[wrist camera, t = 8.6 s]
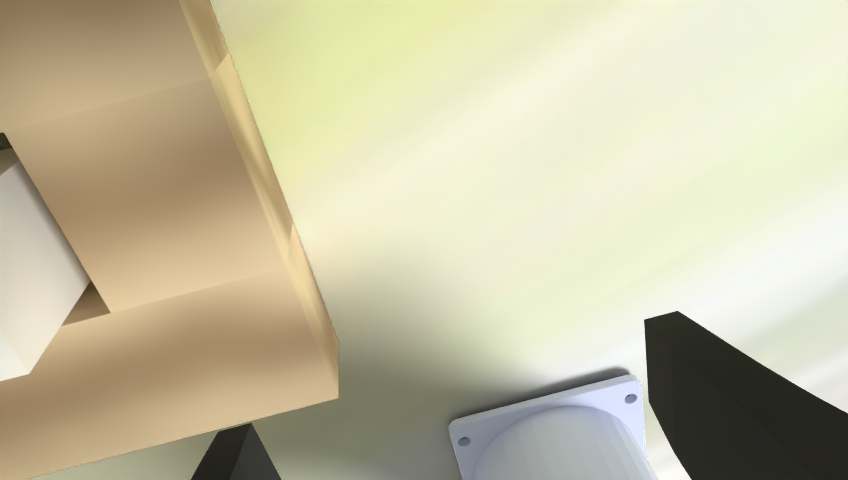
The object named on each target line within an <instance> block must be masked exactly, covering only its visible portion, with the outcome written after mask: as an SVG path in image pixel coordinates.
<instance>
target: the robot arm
mask: <svg viewBox="0 0 848 480" xmlns="http://www.w3.org/2000/svg"><path fill="white" fill-rule="evenodd" d="M644 324H645V342H646V360H647V378H648V396H649V403H650V405H651V407H652V409H653V411H654V413H655V415H656V417H657V419H658V421H659V423H660V426H661V428H662V430H663V432H664V434H665V436H666V437H667V439H668V441H669V443H670V445H671V447H672V449H673V451H674V453H675V455H676V456H677V458H678V459H679V461H680V462H681V464H682V466H683V467H684V469H685V470H686V472H687V473H688V475H689V476H690V478H691V479H692V480H848V413H846V412H844V411H842V410H840V409H838V408H837V407H835V406H833V405H831V404H829V403H827V402H825V401H823V400H822V399H820V398H818V397H816V396H814V395H813V394H811V393H809V392H807V391H806V390H804V389H802V388H800V387H799V386H797V385H795V384H794V383H792V382H790V381H789V380H787V379H785V378H784V377H782V376H780V375H779V374H777V373H775V372H773V371H772V370H770V369H768V368H767V367H765V366H763V365H762V364H760V363H759V362H757V361H755V360H754V359H752V358H751V357H749V356H747V355H746V354H744V353H743V352H741V351H739V350H738V349H736V348H735V347H733V346H732V345H730V344H728V343H727V342H725V341H724V340H722V339H721V338H719V337H718V336H716V335H715V334H713V333H711V332H710V331H708V330H707V329H705V328H704V327H702V326H701V325H699V324H698V323H696V322H694V321H693V320H691V319H690V318H688V317H687V316H685V315H683V314H682V313H680V312H679V311H675V312H672V313H668V314H664V315H660V316H656V317H653V318H649V319H645V320H644ZM629 394H631V395H630V396H628V397H626V396H627V395H629ZM449 434H450V438H451V441H452V445H453V448H454V452H455V455H456V458H457V462H458V465H459V469H460V472H461V476H462V479H463V480H658V478H657V476H656V475H655V473H654V471H653V469H652V467H651V466H650V464H649V462H648V460H647V454H646V440H645V426H644V412H643V399H642V386H641V383H640V381H639V380H638V378H637V377H636V376H635V375H631V374H630V375H624V376H620V377H616V378H612V379H608V380H604V381H600V382H597V383H593V384H589V385H585V386H581V387H577V388H573V389H570V390H566V391H562V392H558V393H554V394H550V395H546V396H543V397H539V398H535V399H531V400H527V401H523V402H519V403H516V404H512V405H508V406H504V407H500V408H496V409H492V410H489V411H485V412H481V413H477V414H473V415H469V416H465V417H462V418H458V419H455V420H453V421H452V422H451V423H450V425H449ZM463 437H467V438H465V439H461V438H463ZM191 480H281V478H280V476H279V474H278V473H277V471H276V469H275V467H274V465H273V463H272V461H271V459H270V457H269V455H268V454H267V452H266V450H265V448H264V446H263V444H262V442H261V440H260V438H259V436H258V434H257V433H256V431H255V429H254V427H253V425H252V423H250V424H246V425H242V426H238V427H234V428H231V429H227V430H223V431H219V432H218V433H217V435H216V437H215V438H214V440H213V442H212V443H211V445H210V447H209V448H208V450H207V452H206V454H205V455H204V457H203V459H202V461H201V462H200V464H199V466H198V468H197V469H196V471H195V473H194V475H193V476H192V478H191Z"/></svg>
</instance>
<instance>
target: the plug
mask: <svg viewBox="0 0 848 480" xmlns="http://www.w3.org/2000/svg"><path fill="white" fill-rule="evenodd" d="M90 281H91V279H90V277H89V275H88V274H87V272H86V270H85V268H84V267H83V265H82V263H81V262H80V260H79V258H78V257H77V255H76V253H75V252H74V250H73V248H72V247H71V245H70V243H69V242H68V240H67V238H66V236H65V235H64V233H63V231H62V230H61V228H60V226H59V225H58V223H57V221H56V220H55V218H54V216H53V215H52V213H51V211H50V210H49V208H48V206H47V204H46V203H45V201H44V199H43V198H42V196H41V194H40V193H39V191H38V189H37V188H36V186H35V184H34V183H33V181H32V179H31V178H30V176H29V174H28V172H27V171H26V169H25V167H24V166H23V164H22V162H21V161H20V159H19V157H18V156H17V154H16V152H15V151H14V149H13V148H9V149H5V150H1V151H0V381H3V380H7V379H11V378H15V377H19V376H23V375H27V374H29V373H30V372H31V370H32V369H33V367H34V366H35V364H36V363H37V361H38V360H39V358H40V357H41V355H42V354H43V352H44V351H45V349H46V348H47V346H48V345H49V343H50V342H51V340H52V339H53V337H54V336H55V334H56V332H57V331H58V329H59V328H60V326H61V325H62V323H63V322H64V320H65V319H66V317H67V316H68V314H69V313H70V311H71V310H72V308H73V307H74V305H75V304H76V302H77V301H78V299H79V298H80V296H81V295H82V293H83V292H84V290H85V289H86V287H87V286H88V284H89V282H90Z"/></svg>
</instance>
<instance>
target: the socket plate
mask: <svg viewBox="0 0 848 480" xmlns="http://www.w3.org/2000/svg"><path fill="white" fill-rule="evenodd" d="M2 132H4V134H5V135H6V137H7V139H8V140H9V142H10V144H11V146H12V147H13V149H14V151H15V152H16V154H17V156H18V157H19V159H20V161H21V162H22V164H23V166H24V167H25V169H26V171H27V172H28V174H29V176H30V178H31V179H32V181H33V183H34V184H35V186H36V188H37V189H38V191H39V193H40V194H41V196H42V198H43V199H44V201H45V203H46V204H47V206H48V208H49V210H50V211H51V213H52V215H53V216H54V218H55V220H56V221H57V223H58V225H59V226H60V228H61V230H62V231H63V233H64V235H65V236H66V238H67V240H68V242H69V243H70V245H71V247H72V248H73V250H74V252H75V253H76V255H77V257H78V258H79V260H80V262H81V263H82V265H83V267H84V268H85V270H86V272H87V274H88V275H89V277H90V279H91V281H90V282H89V284H88V286H87V287H86V289H85V290H84V292H83V293H82V295H81V296H80V298H79V299H78V301H77V302H76V304H75V305H74V307H73V308H72V310H71V311H70V313H69V314H68V316H67V317H66V319H65V320H64V322H63V323H62V325H61V326H60V328H59V329H58V331H57V332H56V334H55V336H54V337H53V339H52V340H51V342H50V343H49V345H48V346H47V348H46V349H45V351H44V352H43V354H42V355H41V357H40V358H39V360H38V361H37V363H36V364H35V366H34V367H33V369H32V370H31V372H30V373H29V374H27V375H23V376H19V377H15V378H11V379H7V380H3V381H0V480H26V479H29V478H33V477H37V476H41V475H45V474H49V473H53V472H56V471H60V470H64V469H68V468H72V467H76V466H79V465H83V464H87V463H91V462H95V461H99V460H103V459H106V458H110V457H114V456H118V455H122V454H126V453H130V452H133V451H137V450H141V449H145V448H149V447H153V446H157V445H160V444H164V443H168V442H172V441H176V440H180V439H183V438H187V437H191V436H195V435H199V434H203V433H207V432H210V431H214V430H218V429H222V428H226V427H230V426H234V425H237V424H241V423H245V422H249V421H253V420H257V419H260V418H264V417H268V416H272V415H276V414H280V413H284V412H287V411H291V410H295V409H299V408H303V407H307V406H311V405H314V404H318V403H322V402H326V401H330V400H334V399H337V398H339V341H338V339H337V336H336V333H335V331H334V328H333V326H332V323H331V320H330V318H329V315H328V312H327V310H326V307H325V304H324V302H323V299H322V296H321V294H320V291H319V289H318V286H317V283H316V281H315V278H314V275H313V273H312V270H311V267H310V265H309V262H308V259H307V257H306V254H305V252H304V249H303V246H302V244H301V241H300V238H299V236H298V233H297V230H296V228H295V225H294V223H293V220H292V217H291V215H290V212H289V209H288V207H287V204H286V201H285V199H284V196H283V193H282V191H281V188H280V186H279V183H278V180H277V178H276V175H275V172H274V170H273V167H272V164H271V162H270V159H269V156H268V154H267V151H266V149H265V146H264V143H263V141H262V138H261V135H260V133H259V130H258V127H257V125H256V122H255V120H254V117H253V114H252V112H251V109H250V106H249V104H248V101H247V98H246V96H245V93H244V90H243V88H242V85H241V83H240V80H239V77H238V75H237V72H236V69H235V67H234V64H233V61H232V59H231V56H230V53H229V51H228V48H227V46H226V43H225V40H224V38H223V35H222V32H221V30H220V27H219V24H218V22H217V19H216V17H215V14H214V11H213V9H212V6H211V3H210V1H209V0H0V133H2Z"/></svg>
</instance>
